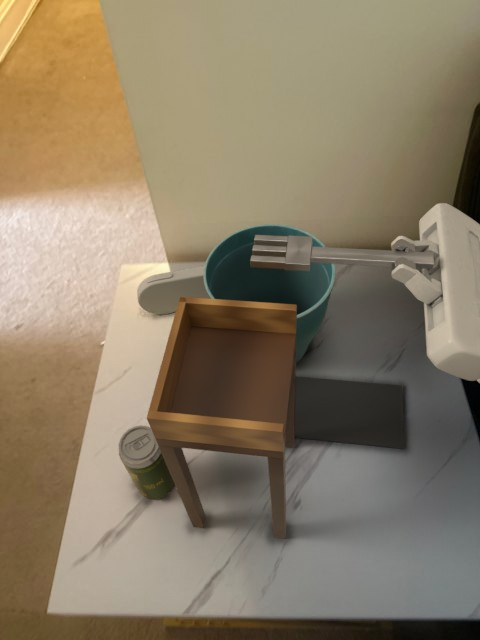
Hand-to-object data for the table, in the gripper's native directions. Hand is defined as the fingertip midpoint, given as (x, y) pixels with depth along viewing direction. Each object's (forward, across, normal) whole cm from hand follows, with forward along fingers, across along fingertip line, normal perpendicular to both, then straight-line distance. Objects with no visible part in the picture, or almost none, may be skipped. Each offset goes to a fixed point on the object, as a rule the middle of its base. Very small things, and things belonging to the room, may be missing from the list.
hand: (394, 255), depth 56 cm
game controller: (+8, -18, +42) cm, 46 cm away
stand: (-3, +12, +36) cm, 38 cm away
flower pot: (-4, -11, +35) cm, 37 cm away
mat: (-12, 0, +31) cm, 33 cm away
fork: (+4, 0, +3) cm, 5 cm away
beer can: (+7, +14, +42) cm, 45 cm away
